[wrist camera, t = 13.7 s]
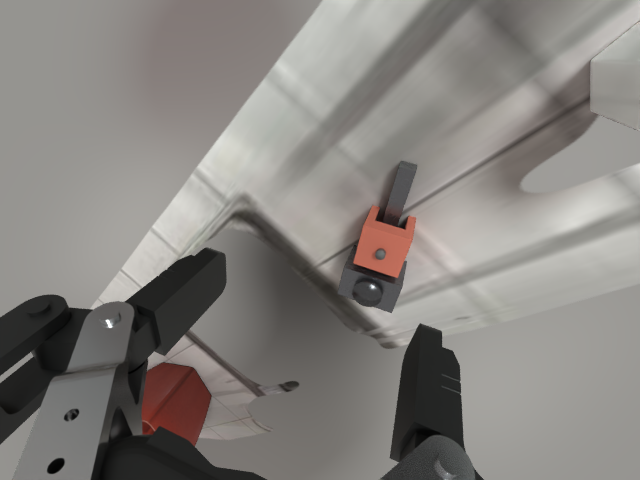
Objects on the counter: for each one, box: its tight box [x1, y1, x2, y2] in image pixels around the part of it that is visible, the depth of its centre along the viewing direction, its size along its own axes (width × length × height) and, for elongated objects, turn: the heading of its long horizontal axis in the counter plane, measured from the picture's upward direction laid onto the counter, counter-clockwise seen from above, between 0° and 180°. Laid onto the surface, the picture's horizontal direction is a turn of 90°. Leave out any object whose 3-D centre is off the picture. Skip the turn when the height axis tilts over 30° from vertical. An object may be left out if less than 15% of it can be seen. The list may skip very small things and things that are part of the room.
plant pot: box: [142, 363, 211, 447], centre depth 81 cm, size 19×19×17 cm
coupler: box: [337, 161, 417, 313], centre depth 40 cm, size 19×8×7 cm, turn 171°
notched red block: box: [353, 206, 416, 278], centre depth 40 cm, size 6×6×7 cm
